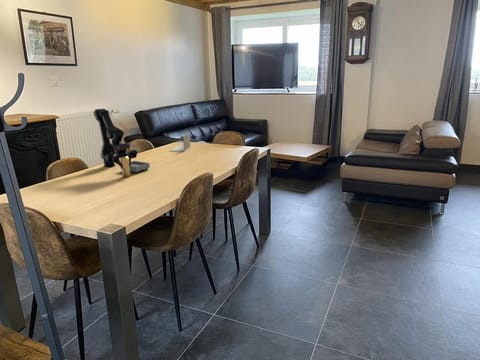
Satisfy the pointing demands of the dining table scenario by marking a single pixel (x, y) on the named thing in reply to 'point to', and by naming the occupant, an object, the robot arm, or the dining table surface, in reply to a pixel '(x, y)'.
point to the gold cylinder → (125, 166)
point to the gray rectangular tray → (138, 166)
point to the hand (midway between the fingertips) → (126, 166)
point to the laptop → (186, 144)
